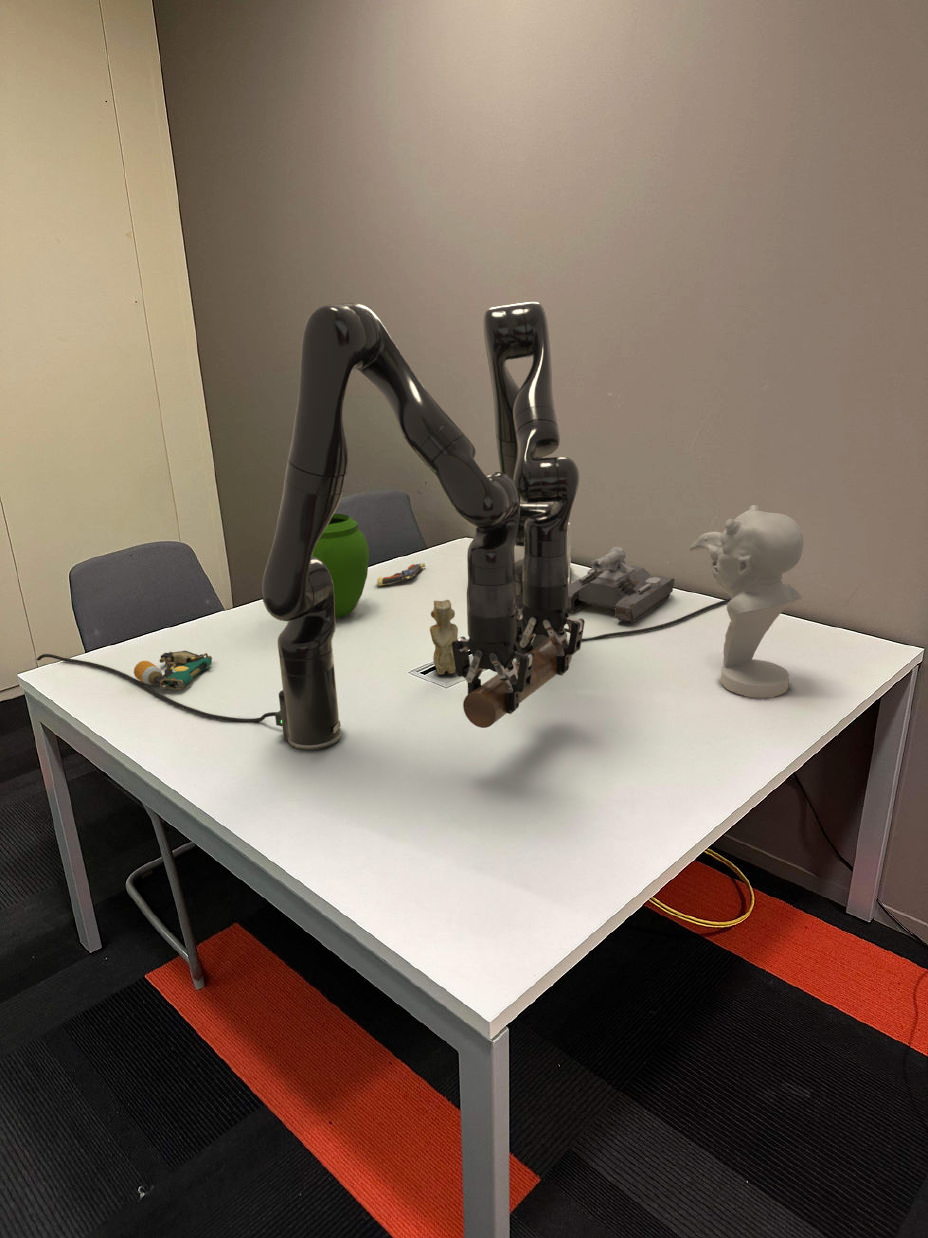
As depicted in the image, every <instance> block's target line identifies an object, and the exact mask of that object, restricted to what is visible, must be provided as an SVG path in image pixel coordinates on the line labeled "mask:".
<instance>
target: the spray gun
mask: <svg viewBox="0 0 928 1238" xmlns="http://www.w3.org/2000/svg"><path fill="white" fill-rule="evenodd" d="M212 660H213V657H212V656H211V655H208V653H207V652H205V653H201V654H197V653H194V652H192V651H191V652H190V651H188V650H180V651H169V652H164V653H162V654H161V655H160V658H159V660H158V662H159V663H161V664H163V663H165V664H166V668H165V670H163V672H164V674H163V673H162V669H160V668H159V666H157V665H156V664H154V663H152V662H151V661H149V660H141V661H139V662H138V663H136V665H135V666H134V668H133V675H134V677H135V679H136V680H138V681H140V682H141V683H143V684H145V685H146V686H155V685H157V686H158V687H160V688H161V689H171V690H172V689H173V690H182V689H184V687H185V686H186V685H188V684H189V683H190V682H191V681H192V679H193V678H195V677H196V676H197V675H198V674H200V673H201V672H202V671H203V670H206V669H208V668H209V667H210V666H211V665H212V662H213V661H212ZM178 663H179V664H181V665H179V666H176V665H177V664H178Z"/></svg>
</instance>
